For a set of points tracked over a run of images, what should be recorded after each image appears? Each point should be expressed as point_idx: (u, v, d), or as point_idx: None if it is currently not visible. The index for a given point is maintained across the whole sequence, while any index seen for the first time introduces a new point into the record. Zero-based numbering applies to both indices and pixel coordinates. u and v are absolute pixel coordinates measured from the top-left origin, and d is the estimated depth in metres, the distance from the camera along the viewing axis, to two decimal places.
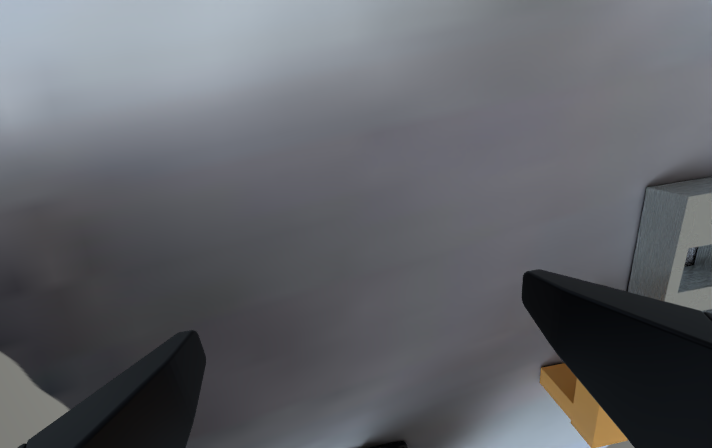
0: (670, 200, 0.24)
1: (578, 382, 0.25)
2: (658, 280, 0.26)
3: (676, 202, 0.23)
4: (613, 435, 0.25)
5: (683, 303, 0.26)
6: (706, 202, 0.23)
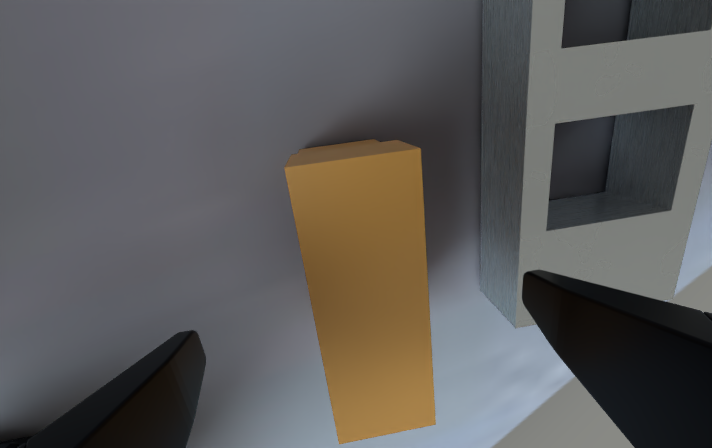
0: None
1: None
2: (517, 25, 0.10)
3: None
4: (390, 410, 0.10)
5: (580, 85, 0.10)
6: None
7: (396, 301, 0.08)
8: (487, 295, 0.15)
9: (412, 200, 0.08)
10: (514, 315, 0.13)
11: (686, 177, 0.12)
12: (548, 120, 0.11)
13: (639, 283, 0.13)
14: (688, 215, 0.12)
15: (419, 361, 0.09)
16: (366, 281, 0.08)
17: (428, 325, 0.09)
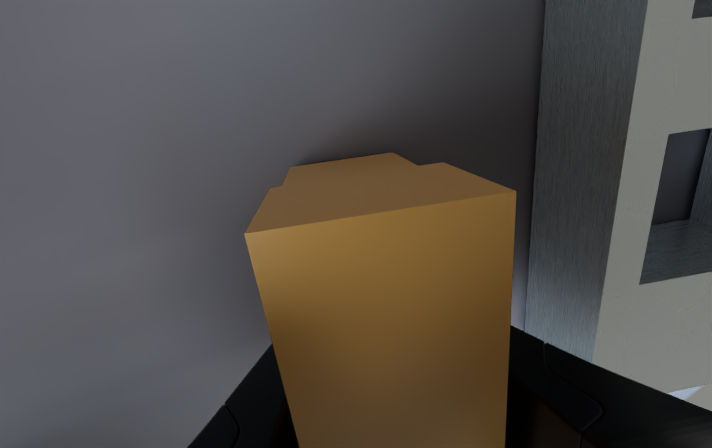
0: None
1: None
2: None
3: None
4: None
5: None
6: None
7: (450, 446, 0.05)
8: None
9: (493, 286, 0.04)
10: None
11: None
12: (659, 129, 0.07)
13: None
14: None
15: None
16: (401, 420, 0.05)
17: None
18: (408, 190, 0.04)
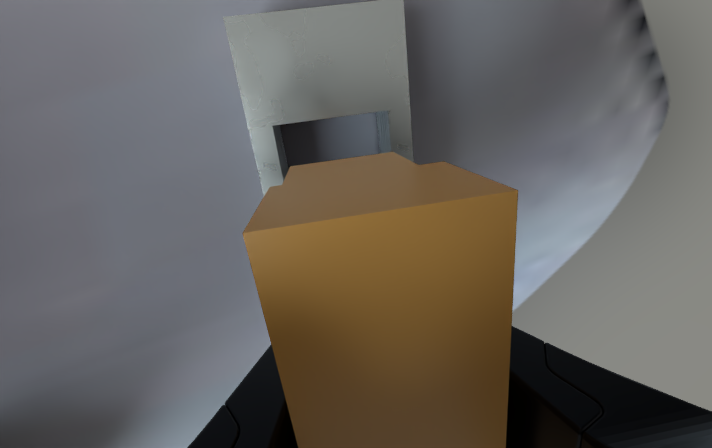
0: None
1: None
2: None
3: None
4: None
5: None
6: (267, 32, 0.13)
7: (450, 447, 0.05)
8: None
9: (494, 285, 0.04)
10: None
11: None
12: None
13: None
14: None
15: None
16: (401, 421, 0.05)
17: None
18: (408, 189, 0.04)
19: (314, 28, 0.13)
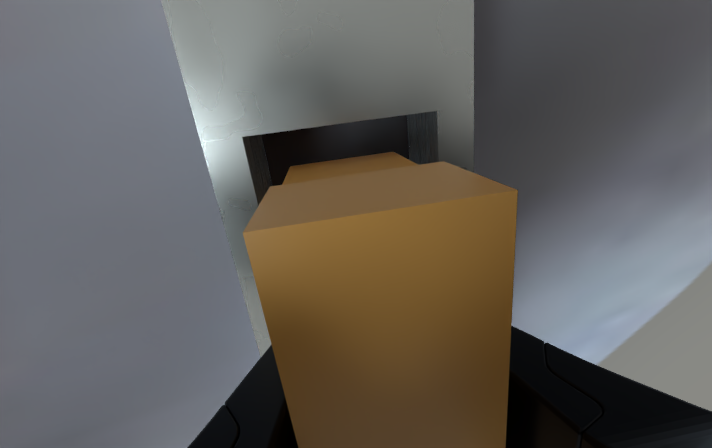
0: None
1: None
2: None
3: None
4: None
5: None
6: None
7: (450, 447, 0.05)
8: None
9: (493, 286, 0.04)
10: None
11: None
12: None
13: None
14: None
15: None
16: (401, 421, 0.05)
17: None
18: (408, 189, 0.04)
19: None
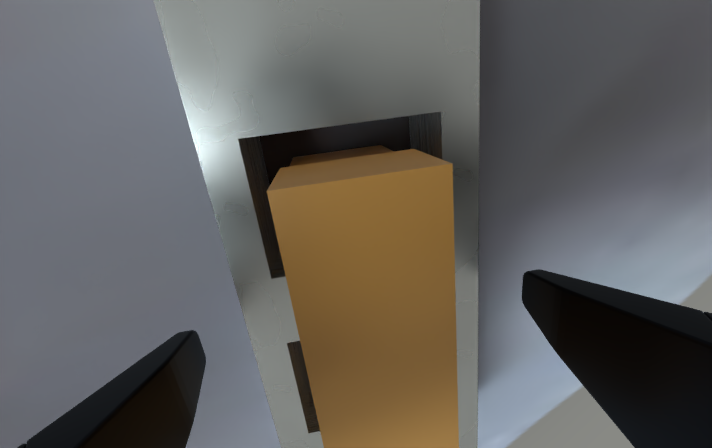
0: None
1: None
2: None
3: None
4: None
5: None
6: None
7: (416, 358, 0.07)
8: None
9: (440, 232, 0.06)
10: None
11: (459, 375, 0.11)
12: (278, 340, 0.10)
13: None
14: (472, 406, 0.12)
15: (442, 428, 0.07)
16: (377, 335, 0.06)
17: (455, 385, 0.07)
18: (381, 165, 0.06)
19: None
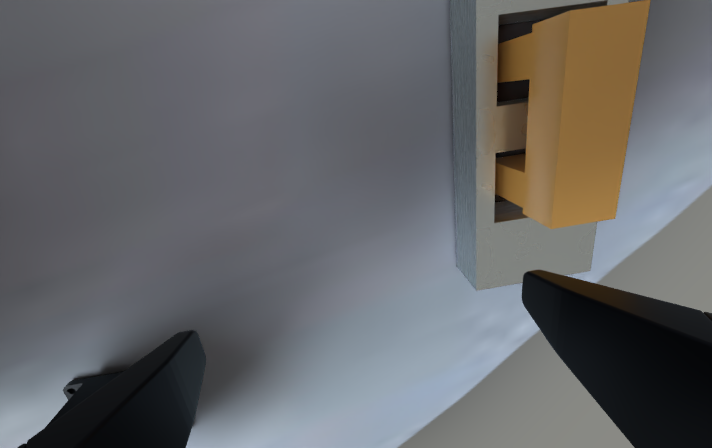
0: None
1: (530, 120, 0.15)
2: (469, 90, 0.16)
3: None
4: (589, 203, 0.14)
5: (511, 128, 0.16)
6: None
7: (612, 113, 0.13)
8: (460, 269, 0.21)
9: (638, 37, 0.12)
10: (475, 281, 0.19)
11: None
12: (491, 151, 0.16)
13: (564, 259, 0.19)
14: None
15: (615, 163, 0.14)
16: (597, 97, 0.13)
17: (627, 134, 0.13)
18: None
19: None
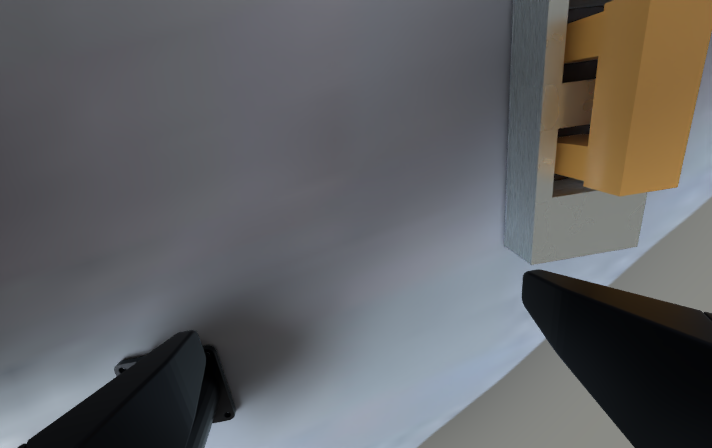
0: None
1: (597, 94, 0.16)
2: (535, 69, 0.17)
3: None
4: (655, 171, 0.15)
5: (573, 105, 0.17)
6: None
7: (682, 85, 0.14)
8: (510, 248, 0.22)
9: (709, 13, 0.13)
10: (530, 256, 0.20)
11: None
12: (554, 126, 0.17)
13: (614, 234, 0.20)
14: None
15: (682, 133, 0.15)
16: (670, 69, 0.14)
17: (693, 105, 0.14)
18: None
19: None
